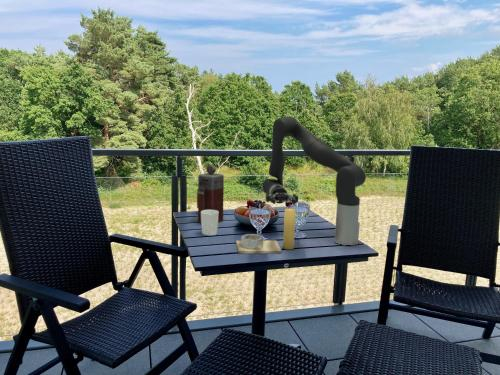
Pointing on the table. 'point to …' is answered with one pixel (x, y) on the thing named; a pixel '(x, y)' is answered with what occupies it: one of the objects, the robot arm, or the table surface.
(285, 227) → the ochre steel pin
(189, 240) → the table surface
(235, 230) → the table surface
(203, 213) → the white cup
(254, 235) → the steel ring collar
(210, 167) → the french press
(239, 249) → the birch board
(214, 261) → the table surface
